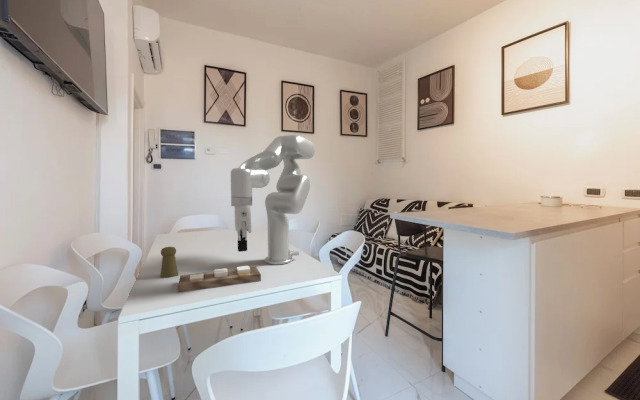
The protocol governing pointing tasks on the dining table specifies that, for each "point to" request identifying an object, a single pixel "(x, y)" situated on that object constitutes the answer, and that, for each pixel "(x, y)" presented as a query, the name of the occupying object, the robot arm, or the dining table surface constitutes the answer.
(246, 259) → the dining table surface
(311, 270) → the dining table surface
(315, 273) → the dining table surface
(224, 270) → the middle button
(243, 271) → the inner button
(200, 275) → the outer button
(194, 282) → the button board
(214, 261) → the dining table surface
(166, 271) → the cork
